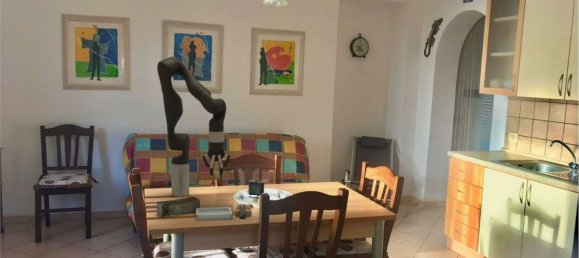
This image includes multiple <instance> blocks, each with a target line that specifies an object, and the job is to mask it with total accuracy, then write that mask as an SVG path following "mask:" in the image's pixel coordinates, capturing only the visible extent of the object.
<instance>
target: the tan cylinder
mask: <svg viewBox="0 0 579 258" xmlns="http://www.w3.org/2000/svg"><path fill="white" fill-rule="evenodd" d="M212 168H213V176H212V180H215V181H216V180H217V181H218V180H221V176H220V163H219V161H214V163H213V167H212Z"/></svg>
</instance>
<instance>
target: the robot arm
mask: <svg viewBox="0 0 579 258" xmlns="http://www.w3.org/2000/svg"><path fill="white" fill-rule="evenodd" d="M156 67H157V68H156V69H157V75H158V78H159V83H160V87H161V93H162V101H163V108H164V109H163V110H164V114H165V115H164V116H165V121H166V129H167V130H166V132H167V145H168V148H169V150H170V151H174V152H175V151H176V152H181V153H180V155H176V156H173V157H172V158H171V161H170V162H171V164H170V165H171V166H170V167H171V168H170V169H171V196H172V197H177V198H178V197H187V196H189V195H190V146H191V145H190V144H191V140H190V139H191V138H190V135H189V134H188V133H176V131H175V130H176V129H175V128H176V127H177V124H178V123H179V121H180V120H181V118H182V117H183V113H184V106H183V100H182V97H181V96H180V94H179V93H178V92H177V91H176V90H175V89H174V87H173V82H172V81H173V80H172V78H173V77H176V76H177V75H178V76H179V77H181V78H182V80H184V81H185V85H186V88H187V91H188V92H189V94H190V95H191V96H193V98H195V99H196V100H197V101H198V102H199V103H200V104H201V106H202V107H203V109H204V110H206V112H208V113H209V114H211V115H212V118H210V120H209V122H208V135H207V136H208V137H207V139H208V140H207V141H208V147H207V148H208V150H207V151H208V152H207V153H206V154H202V157H201V158H202V160H203V162H204V164H205V167H206V168H209V175H210V176H211V177H213V163H214V161H219V163H220V177H221V176H222V175H223V174H224V168H226V167H228V163H229V161H230V159H231V155H230V154H228V153H226V152H225V132H224V129H225V124H224V122H225V119H226V113H227V104H226V102H225V100H224V99H223V98H213V97H212V93H211V91H210V90H209V89H208V87H206V86H205V85H203V84H202V83H201V82H200V81H199V80H198V79H196V77H195V76H194V75H193V74H192V72H191V71H190V70H189V69H188V67H186V65H185V64H184V63H183V62H182V61H181V59H179V58H178V57H176V56H170V57H166V58H164V59H162V60H159V61H158V62H157V66H156ZM208 158H209V159H210V163H209V162H208V160H207V159H208ZM223 158H225V161H224V163H223V162H222V161H223Z"/></svg>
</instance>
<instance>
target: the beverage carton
mask: <svg viewBox="0 0 579 258" xmlns="http://www.w3.org/2000/svg"><path fill="white" fill-rule="evenodd" d="M196 208H201V200H200V198H198V197H195V196H188V197H187V196H186V197H183V198H176V199H171V200H164V201H157V202H156V214H157V213H158V214H159V215H160V216H162V217H165V216H171V215H177V216H179V215H178V214H183V215H186V214H185V213H189V214H193V213H195V214H196ZM158 214H157V215H158ZM159 215H158V216H159ZM160 216H159V217H160ZM162 217H161V218H162ZM171 217H172V216H171ZM165 218H166V217H165Z"/></svg>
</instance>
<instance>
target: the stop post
mask: <svg viewBox="0 0 579 258" xmlns="http://www.w3.org/2000/svg"><path fill="white" fill-rule="evenodd" d="M238 205H239V217H238V218H239V219H241V220H243V219H246V218H247V217H246V205H247V204H243V203H240V204H238Z"/></svg>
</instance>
